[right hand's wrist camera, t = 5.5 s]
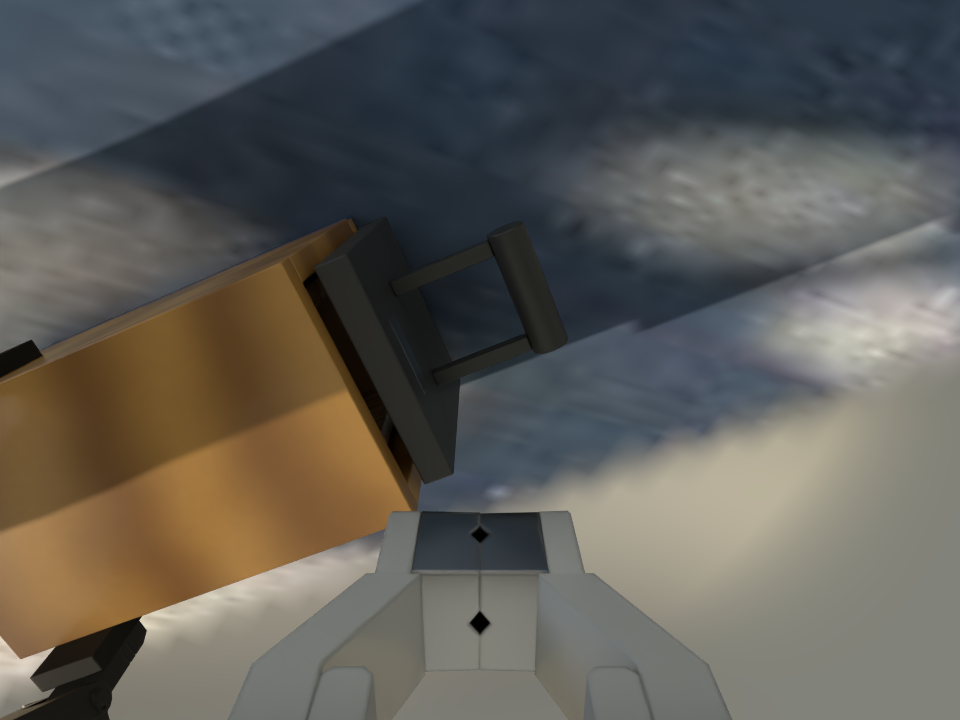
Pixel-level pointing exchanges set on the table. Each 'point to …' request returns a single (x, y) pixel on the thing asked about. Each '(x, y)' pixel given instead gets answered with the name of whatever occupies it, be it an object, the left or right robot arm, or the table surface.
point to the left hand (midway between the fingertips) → (86, 465)
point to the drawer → (421, 331)
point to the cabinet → (185, 452)
